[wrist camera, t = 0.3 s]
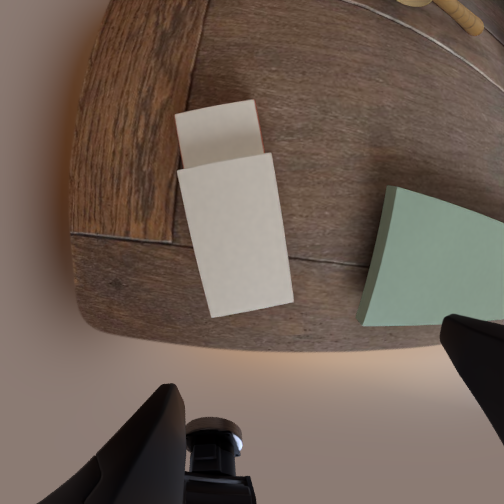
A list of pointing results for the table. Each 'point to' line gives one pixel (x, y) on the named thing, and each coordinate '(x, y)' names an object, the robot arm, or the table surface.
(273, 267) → the stepped block on base
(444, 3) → the kendama
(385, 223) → the flat pale green board
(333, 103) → the table surface
